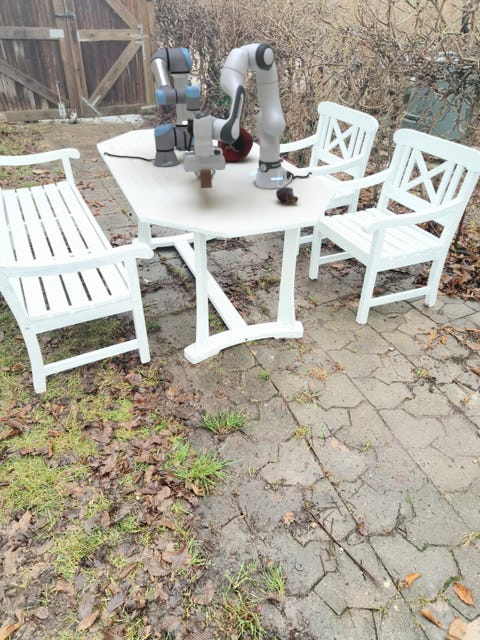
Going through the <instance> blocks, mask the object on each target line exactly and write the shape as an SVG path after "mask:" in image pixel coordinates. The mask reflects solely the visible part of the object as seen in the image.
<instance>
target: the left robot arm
mask: <svg viewBox="0 0 480 640" xmlns="http://www.w3.org/2000/svg"><path fill="white" fill-rule="evenodd" d="M192 61H193V60H192V56H191V54H190V51H189V49H188V48H186V47H173V48H172V47H171V48H170V47H169V48H160V49H158V50H156V51H155V52H154V53H153V54H152V56H151V57H150V60H149V67H150V71H151V72H152V74H153V76H154V81H155V85H156V88H157V89H156V90H155V100H156V104H157V105H158V106H166V105H175V109H176V122H175V123H174V125H175V126H173V125H172V124H171V123H165V124H161V125H158V126H157V125H156V127H155V128H154V129H153V133H154V134H153V136H154V142H155V143H154V145H155V155H154V158H145V157H141V156H132V155H117V154H110V153H109V152H107V151H105V152H104V153H103V155H108V156H111V157H116V158H117V157H118V158H130V159H140V160H144V161H148V162H150V161H154V165H155V166H157V167H163V168H164V167H165V168H167V167H168V168H169V167H174V166H177V165H178V164H179V159H178V157H177V153H176V151H175V146H184V149H185V150H184V151H191V150H190V148H191V145H194V141H195V138H194V133H193V121H194V117H195V115H196V114H198V113H202V111H201V92H200V87H199V86H198V85H189V76H190V75H191V71H192V70H193V62H192ZM168 72H170V76H171V77H172V78H173V86H174V88H172V84H171V81H170V77H169V74H168ZM187 146H188V148H187Z"/></svg>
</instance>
